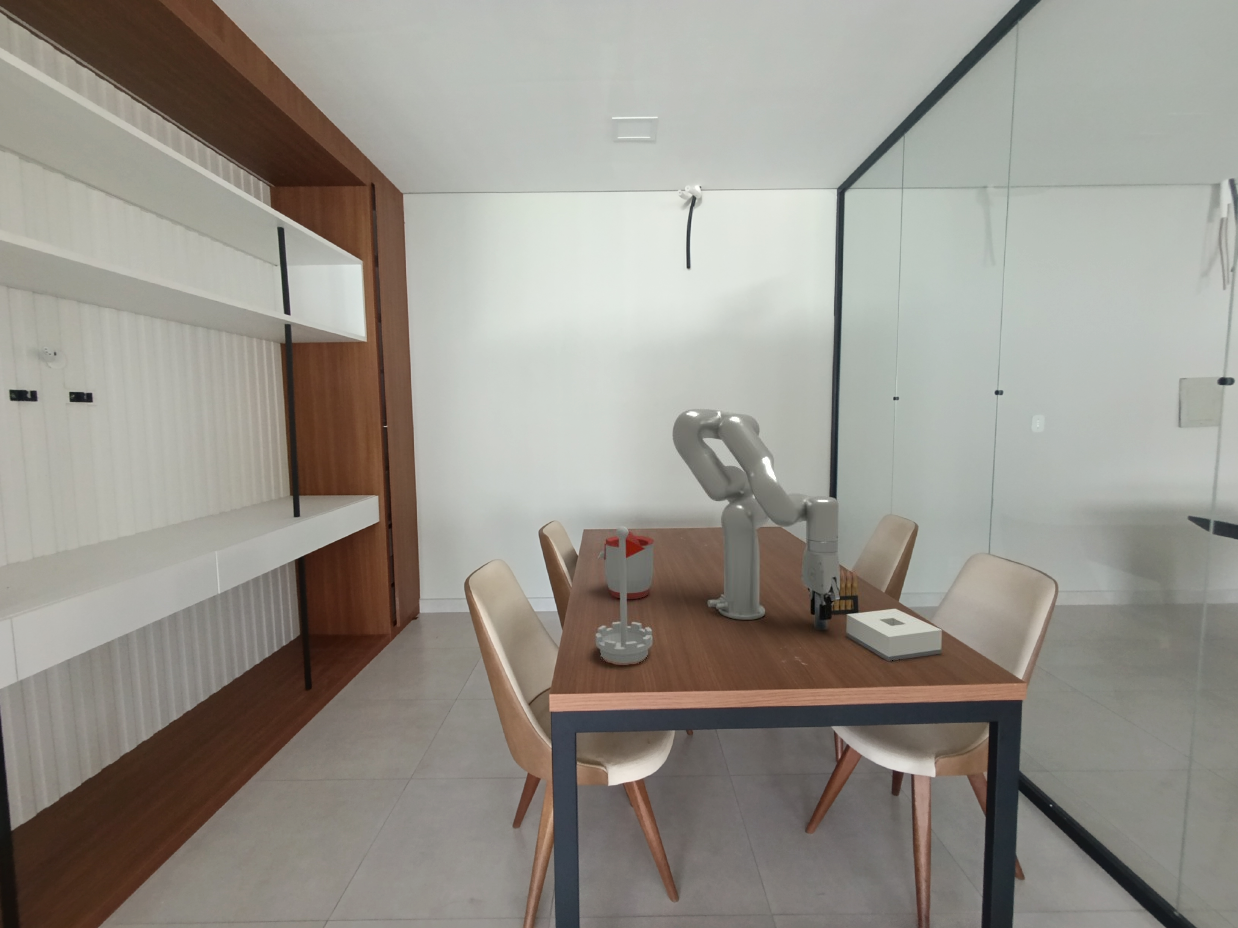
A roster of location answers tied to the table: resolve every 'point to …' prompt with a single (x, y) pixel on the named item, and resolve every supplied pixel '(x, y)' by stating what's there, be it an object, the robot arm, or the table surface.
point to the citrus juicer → (629, 567)
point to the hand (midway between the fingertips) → (820, 616)
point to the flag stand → (624, 618)
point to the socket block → (894, 634)
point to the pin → (819, 623)
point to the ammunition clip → (846, 596)
